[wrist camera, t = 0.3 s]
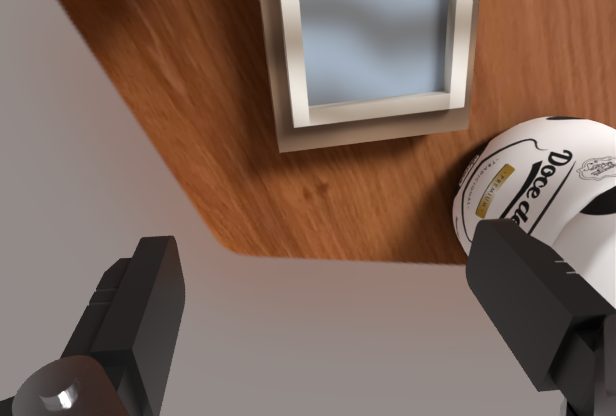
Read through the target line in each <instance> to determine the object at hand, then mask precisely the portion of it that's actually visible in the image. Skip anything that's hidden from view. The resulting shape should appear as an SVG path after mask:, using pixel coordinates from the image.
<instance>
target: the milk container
mask: <svg viewBox="0 0 616 416" xmlns="http://www.w3.org/2000/svg"><path fill="white" fill-rule="evenodd" d="M503 218H510V219H512V220H514V221H515V222H516V223H517V224H518V225H519V226H520V227H521V228H522V229H523V230H524V231H525V232H526V233H527V234H528V235H531V236H533V237H535V238H536V239H538V240H540V241H542V242H543V243H545V244H547V245H549V246H550V247H551V248H552V249H554V250H555V251H556V252H557V253H558V254H559V255H560V256H561V257H562V258H563V259H564V262H567V263H568V264H569V265H570V266H571V267H572V268H573V269H574V270H575V272H576V274H580V275H581V276H582V277H583V278H584V279H585V280H586V281H587V282H588V283H589V284H590V285H591V286H592V287H593V288H594V289H595V290H596V291H597V292H598V293H599V294H601V295H602V296H603V297H604V298H605V299H606V300H607V301H608V302H609V303H610V304H611V305H612V306H613V307H614V308H615V309H616V130H615V129H613V128H611V127H608V126H606V125H604V124H601V123H598V122H595V121H591V120H587V119H582V118H574V117H542V118H536V119H533V120H529V121H526V122H523V123H520V124H517V125H515V126H513V127H511V128H510V129H508V130H506V131H504V132H503V133H501V134H499V135H498V136H496V137H495V138H493V139H492V140H490V141H489V142H488V143H487V144H486V145H485V146H484V147H483V148H482V149H481V150H480V151H479V152H478V153H477V154H476V155H475V156H474V158H473V159H472V160H471V161H470V163H469V164H468V166H467V167H466V169H465V171H464V173H463V175H462V177H461V179H460V181H459V183H458V185H457V188H456V192H455V197H454V204H453V223H454V228H455V232H456V235H457V237H458V239H459V242H460V243H461V245H462V247H463V249H464V251H465V252H466V254H467V255H468V256H469V252H470V248H471V244H472V240H473V236H474V232H475V228H476V225H477V223H478V222H479V221H480V220H485V219H503Z"/></svg>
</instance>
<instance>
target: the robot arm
mask: <svg viewBox="0 0 616 416" xmlns="http://www.w3.org/2000/svg"><path fill="white" fill-rule="evenodd" d="M466 278H467V281H468V285H469V287H470V289H471V290H472V292H473V293H474V295H475V296H476V298H477V299H478V301H479V302H480V304H481V305H482V307H483V308H484V310H485V311H486V313H487V315H488V316H489V317H490V319H491V321H492V322H493V324H494V325H495V327H496V328H497V330H498V331H499V333H500V334H501V336H502V337H503V339H504V341H505V342H506V343H507V345H508V347H509V348H510V350H511V351H512V353H513V354H514V356H515V357H516V359H517V360H518V361H519V363H520V365H521V366H522V368H523V369H524V371H525V373H526V374H527V375H528V377H529V379H530V380H531V382H532V383H533V385H534V386H535V387H536V389H537V391H538V392H540V391H550V390H560V391H561V392H562V394H563V395H564V396H565V398H564V399H563V402H562V403H561V406H560V416H616V309H615V308H614V307H613V306H612V305H611V304H610V303H609V302H608V301H607V300H606V299H605V298H604V297H603V296H602V295H601V294H599V293H598V292H597V291H596V290H595V289H594V288H593V287H592V286H591V285H590V284H589V283H588V282H587V281H586V280H585V279H584V278H583V277H582V276H581V275H580V274H576V272H575V270H574V269H573V268H572V267H571V266H570V265H569V264H568V263H567V262H564V259H563V258H562V257H561V256H560V255H559V254H558V253H557V252H556V251H555V250H554V249H552V248H551V247H550V246H549V245H547V244H545V243H543V242H542V241H540V240H538V239H536V238H535V237H533V236H531V235H528V234H527V233H526V232H525V231H524V230H523V229H522V228H521V227H520V226H519V225H518V224H517V223H516V222H515V221H514V220H512V219H510V218H503V219H485V220H480V221H479V222H478V223H477V225H476V228H475V232H474V236H473V240H472V244H471V248H470V252H469V256H468V259H467V263H466ZM184 304H185V284H184V278H183V273H182V268H181V263H180V258H179V253H178V248H177V243H176V240H175V238H174V236H158V237H157V236H156V237H142V238H141V239H140V241H139V243H138V246H137V248H136V250H135V252H134V255H133V257H132V258H121V259H119V260H118V261H117V262H116V263H115V264H113V265H112V266H111V267H110V268H109V269H108V270H107V271H106V272H105V273H104V274H103V276H102V278H101V280H100V282H99V284H98V286H97V288H96V292H94V294H93V296H92V297H91V299H90V301H89V306H87V307H86V309H85V311H84V313H83V315H82V317H81V319H80V321H79V323H78V325H77V326H76V328H75V331H74V332H73V334H72V336H71V338H70V340H69V342H68V344H67V346H66V348H65V350H64V352H63V353H62V355H61V358H60V359H58V360H55V361H53V362H51V363H49V364H47V365H45V366H43V367H42V368H40V369H39V370H37V371H36V372H35V373H33V374H32V375H31V376H30V377H29V378H28V379H27V380H26V381H25V382H24V383H23V384H22V385H21V387H20V388H19V390H18V391H17V393H16V395H15V396H13V397H11V398H8V399H6V400H3V401H0V416H159V414H160V410H161V406H162V401H163V397H164V392H165V388H166V384H167V379H168V375H169V371H170V366H171V362H172V358H173V353H174V348H175V345H176V340H177V336H178V331H179V327H180V323H181V318H182V313H183V310H184Z"/></svg>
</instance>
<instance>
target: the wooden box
mask: <svg viewBox="0 0 616 416" xmlns="http://www.w3.org/2000/svg"><path fill="white" fill-rule="evenodd" d="M479 1H480V0H259V7H260V15H261V23H262V31H263V39H264V47H265V55H266V63H267V71H268V79H269V87H270V95H271V102H272V110H273V118H274V126H275V134H276V140H277V144H278V148H279V153H283V152H291V151H299V150H307V149H315V148H323V147H331V146H338V145H346V144H354V143H362V142H370V141H378V140H386V139H394V138H402V137H410V136H418V135H426V134H434V133H442V132H449V131H457V130H465V129H468V124H469V113H470V101H471V90H472V79H473V68H474V57H475V46H476V34H477V23H478V12H479Z"/></svg>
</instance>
